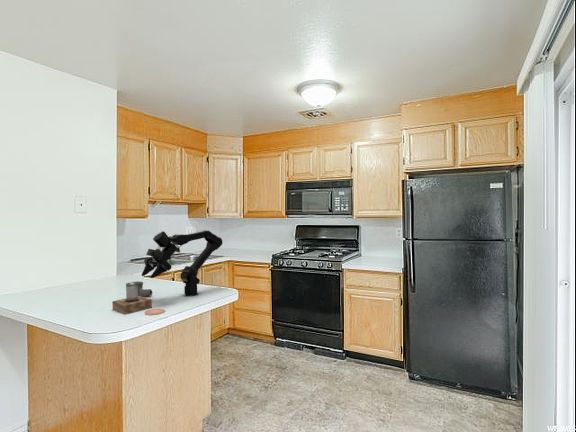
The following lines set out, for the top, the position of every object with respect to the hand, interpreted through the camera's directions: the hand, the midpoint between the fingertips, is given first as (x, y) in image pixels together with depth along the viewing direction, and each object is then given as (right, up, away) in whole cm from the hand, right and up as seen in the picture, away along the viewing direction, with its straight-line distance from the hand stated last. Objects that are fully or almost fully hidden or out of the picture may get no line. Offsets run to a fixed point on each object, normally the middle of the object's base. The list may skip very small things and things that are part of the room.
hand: (146, 276), depth 173 cm
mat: (+9, -14, -13) cm, 22 cm away
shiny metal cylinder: (-4, -14, -6) cm, 16 cm away
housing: (-4, -14, -6) cm, 16 cm away
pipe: (-10, -14, +18) cm, 25 cm away
